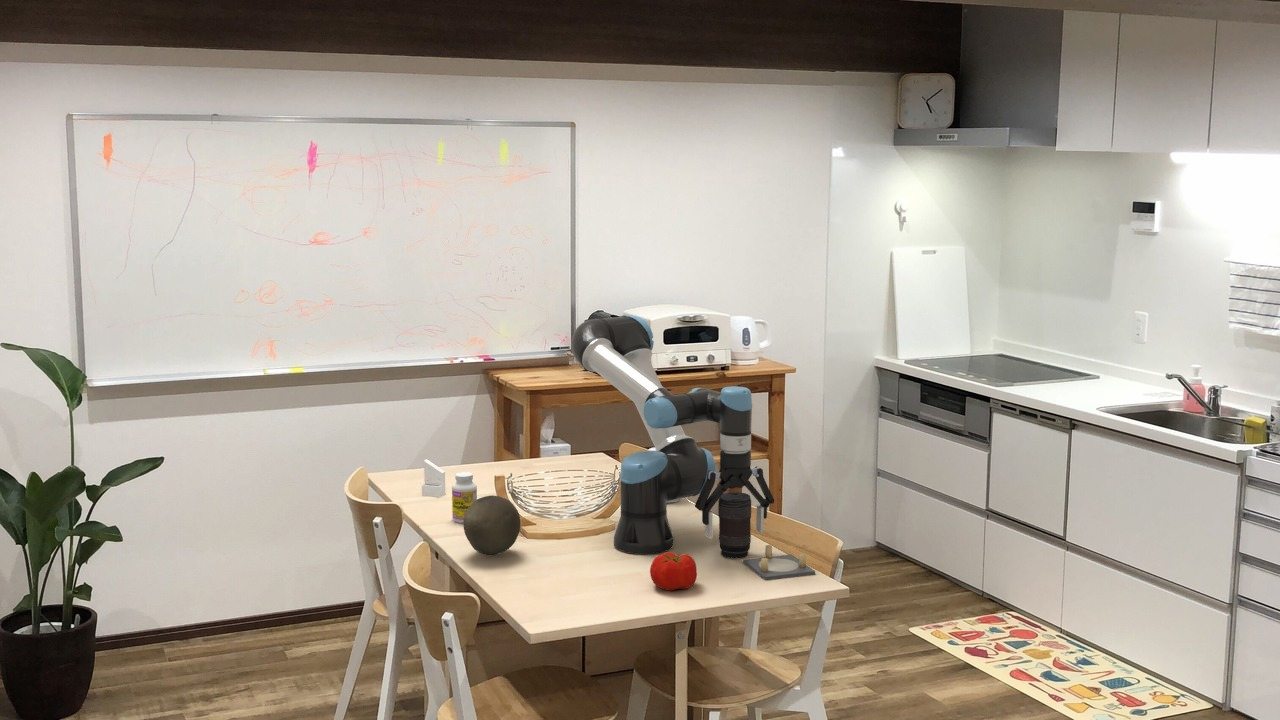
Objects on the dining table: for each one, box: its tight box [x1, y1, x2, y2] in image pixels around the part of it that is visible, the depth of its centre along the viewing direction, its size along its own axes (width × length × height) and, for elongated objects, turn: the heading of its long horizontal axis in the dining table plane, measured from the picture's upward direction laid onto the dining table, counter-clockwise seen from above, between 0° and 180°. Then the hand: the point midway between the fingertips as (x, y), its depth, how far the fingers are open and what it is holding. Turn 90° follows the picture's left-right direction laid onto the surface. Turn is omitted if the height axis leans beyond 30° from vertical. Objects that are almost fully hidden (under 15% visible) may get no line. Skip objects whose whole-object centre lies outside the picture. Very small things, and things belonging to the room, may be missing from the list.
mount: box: [742, 544, 816, 581], centre depth 294 cm, size 13×13×4 cm
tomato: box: [649, 551, 698, 591], centre depth 282 cm, size 11×11×8 cm
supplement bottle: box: [451, 471, 478, 524], centre depth 333 cm, size 7×7×13 cm
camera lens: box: [717, 491, 752, 560], centre depth 304 cm, size 8×8×15 cm
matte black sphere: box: [462, 495, 521, 557], centre depth 303 cm, size 14×14×15 cm
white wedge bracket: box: [421, 458, 446, 498], centre depth 358 cm, size 4×10×9 cm
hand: (734, 534), depth 304 cm, fingers open, 13 cm apart
